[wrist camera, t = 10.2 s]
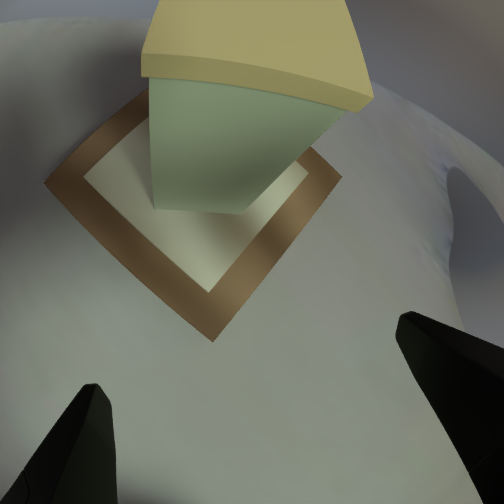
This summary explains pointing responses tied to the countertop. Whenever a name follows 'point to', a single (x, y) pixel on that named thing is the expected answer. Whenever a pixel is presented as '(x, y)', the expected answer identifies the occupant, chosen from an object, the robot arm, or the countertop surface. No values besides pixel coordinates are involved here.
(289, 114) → the tea tin
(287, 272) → the countertop surface
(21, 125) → the countertop surface
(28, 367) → the countertop surface
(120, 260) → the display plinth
